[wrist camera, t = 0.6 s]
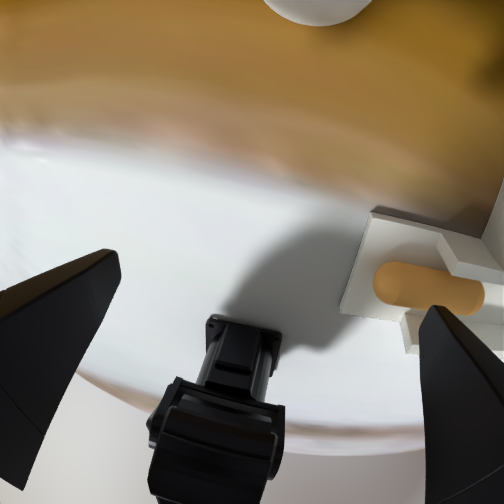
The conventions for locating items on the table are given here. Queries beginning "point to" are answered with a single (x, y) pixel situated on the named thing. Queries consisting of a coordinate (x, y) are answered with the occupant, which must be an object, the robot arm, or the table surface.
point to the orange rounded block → (427, 288)
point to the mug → (317, 10)
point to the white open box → (437, 257)
